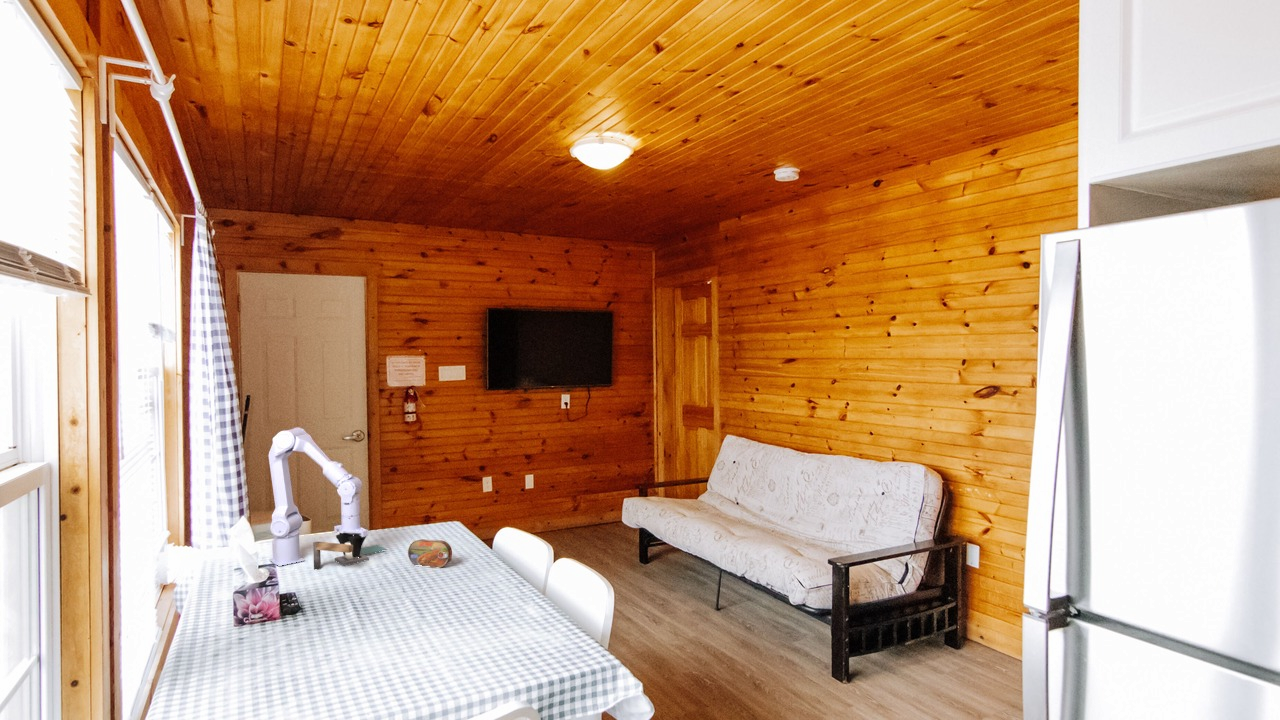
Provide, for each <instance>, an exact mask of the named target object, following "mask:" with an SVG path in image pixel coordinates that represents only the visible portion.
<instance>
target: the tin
mask: <svg viewBox="0 0 1280 720" xmlns="http://www.w3.org/2000/svg"><path fill="white" fill-rule="evenodd" d="M407 557H408V559H409V561H410V563H411V564H412V565H413V566H415V565H422V566H430V567H429V568H432V567H440V568H439V569H441V568H444V567H446V566H447V565H448V564H449V563H450V562H451V560H452V557H453V550H452V547H451V545H450V544H449V543H448V542H447V541H446V540H442V539H441V540H439V539H417V540H415V541H412V542H411V544H410V545H409V546H408V551H407Z"/></svg>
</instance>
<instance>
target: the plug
mask: <svg viewBox="0 0 1280 720" xmlns="http://www.w3.org/2000/svg"><path fill="white" fill-rule="evenodd" d="M345 544H349V545H351V544H350V541H349V542H346V543H345ZM353 559H358V557H355V558H354V557H353V555H352V552H350V553H346V552H345V560H346V561H349V560H353Z"/></svg>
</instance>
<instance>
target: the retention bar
mask: <svg viewBox="0 0 1280 720" xmlns="http://www.w3.org/2000/svg"><path fill="white" fill-rule="evenodd" d="M312 545H313V546H312V549H313V550H312V551H313V553H312V554H313V570H315V569H317V570H321V569H322V567H321V566H322V565H321V564H322V563H321V562H322V561H321V558H322V557H321V551H327V552H335V553H343V552H346V553H350V552H352V551H353V545H349V544H340V543H336V542H325V541H323V542H322V541H314V542H313V544H312Z"/></svg>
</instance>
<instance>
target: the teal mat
mask: <svg viewBox="0 0 1280 720" xmlns="http://www.w3.org/2000/svg"><path fill="white" fill-rule="evenodd" d="M382 550H387V551H388V549H387V548H385V547H383V546H381V545H378V544H374V545H370V546H365V547H361V551H360V553H361V554H363V555H366V556H368V555H367V554H370V555H372V554H371V553H374V554H376V553H375V552H378V553H380V552H379V551H382Z"/></svg>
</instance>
